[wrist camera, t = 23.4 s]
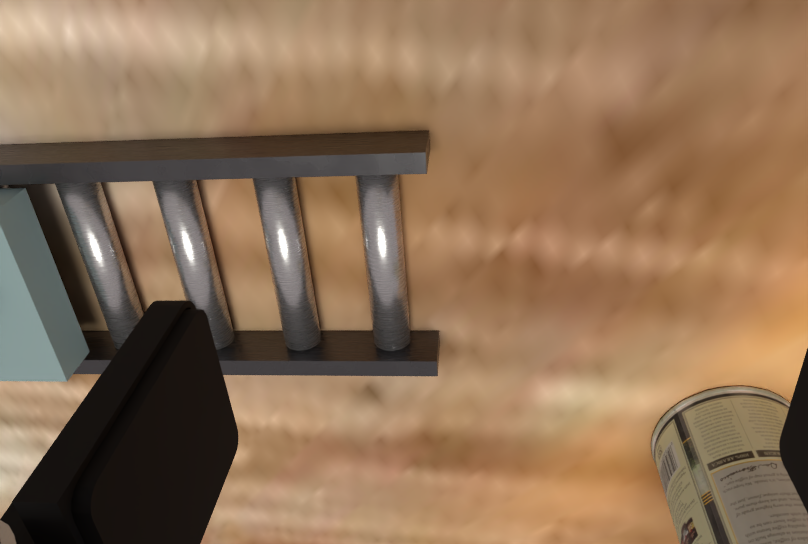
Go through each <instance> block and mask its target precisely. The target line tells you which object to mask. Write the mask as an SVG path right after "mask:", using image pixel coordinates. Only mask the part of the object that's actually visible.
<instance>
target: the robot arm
mask: <svg viewBox="0 0 808 544" xmlns="http://www.w3.org/2000/svg"><path fill="white" fill-rule="evenodd" d="M237 446H238V430H237V425H236V422H235V418H234V414H233V411H232V407H231V403H230V399H229V396H228V392H227V388H226V384H225V381H224V377H223V373H222V370H221V366H220V362H219V358H218V355H217V351H216V347H215V343H214V340H213V336H212V332H211V329H210V325H209V321H208V317H207V315H206V313H205V311H204V310H202V309H196V306H195V305H194V304H193V302H191V301H155V302H153V303H152V304H151V305H150V306H149V308H148V309H147V311H146V312H145V313H144V315H143V316H142V318H141V319H140V320H139V322H138V323H137V325H136V326H135V328H134V329H133V330H132V332H131V333H130V335H129V336H128V338H127V339H126V340H125V342H124V343H123V345H122V346H121V347H120V349H119V350H118V352H117V353H116V355H115V356H114V357H113V359H112V360H111V362H110V363H109V365H108V366H107V367H106V369H105V370H104V372H103V373H102V375H101V376H100V377H99V379H98V380H97V382H96V383H95V384H94V386H93V387H92V389H91V390H90V392H89V393H88V394H87V396H86V397H85V399H84V400H83V402H82V403H81V404H80V406H79V407H78V409H77V410H76V412H75V413H74V414H73V416H72V417H71V419H70V420H69V421H68V423H67V424H66V426H65V427H64V429H63V430H62V431H61V433H60V434H59V436H58V437H57V439H56V440H55V441H54V443H53V444H52V446H51V447H50V449H49V450H48V451H47V453H46V454H45V456H44V457H43V458H42V460H41V461H40V463H39V464H38V466H37V467H36V468H35V470H34V471H33V473H32V474H31V476H30V477H29V478H28V480H27V481H26V483H25V484H24V485H23V487H22V488H21V490H20V491H19V493H18V494H17V495H16V497H15V498H14V500H13V501H12V503H11V505H10V506H9V508H8V509H7V511H6V512H5V513H4V515H3V516H2V518H1V519H0V544H200V543H201V541H202V538H203V535H204V533H205V530H206V528H207V525H208V523H209V520H210V518H211V515H212V513H213V510H214V507H215V505H216V502H217V500H218V497H219V495H220V492H221V490H222V487H223V484H224V482H225V479H226V477H227V474H228V472H229V469H230V467H231V464H232V462H233V459H234V456H235V454H236V451H237ZM779 449H780V456H781V460H782V462H783V465H784V467H785V469H786V471H787V473H788V475H789V477H790V479H791V481H792V483H793V485H794V487H795V489H796V491H797V493H798V495H799V497H800V499H801V501H802V503H803V505H804V507H805V509H806V511H807V513H808V349H807V352H806V355H805V358H804V362H803V365H802V368H801V371H800V375H799V378H798V381H797V384H796V388H795V391H794V394H793V397H792V401H791V404H790V407H789V410H788V414H787V417H786V420H785V423H784V427H783V430H782V433H781V436H780V441H779Z"/></svg>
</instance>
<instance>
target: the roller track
mask: <svg viewBox="0 0 808 544" xmlns="http://www.w3.org/2000/svg"><path fill="white" fill-rule="evenodd" d="M429 154H430V140H429V131H404V132H374V133H344V134H314V135H284V136H254V137H223V138H193V139H163V140H133V141H103V142H73V143H43V144H13V145H0V188H10V187H9V185H16V184H54V183H55V185H56V188H57V190H58V193H59V196H60V199H61V201H62V204H63V207H64V210H65V212H66V215H67V218H68V220H69V223H70V226H71V229H72V231H73V234H74V237H75V240H76V242H77V245H78V248H79V250H80V253H81V256H82V259H83V261H84V264H85V267H86V270H87V272H88V275H89V278H90V281H91V283H92V286H93V289H94V291H95V294H96V297H97V300H98V302H99V305H100V308H101V311H102V313H103V316H104V319H105V321H106V324H107V327H108V330H109V331H82V333H83V336H84V338H85V341H86V343H87V346H88V349H89V351H90V352H89V353H88V355H87V356H86V357H85V359H84V360H83V361H82V362H81V364H80V365H79V366H78V368H77V369H76V370H75V372H74V373H73V374H102V373H103V372H104V370H105V369H106V367H107V366H108V365H109V363H110V362H111V360H112V359H113V357H114V356H115V355H116V353H117V352H118V350H119V349H120V347H121V346H122V345H123V343H124V342H125V340H126V339H127V338H128V336H129V335H130V333H131V332H132V330H133V329H134V328H135V326H136V325H137V323H138V322H139V320H140V319H141V318H142V316H143V315H144V313H143V310H142V307H141V304H140V301H139V298H138V295H137V292H136V289H135V286H134V283H133V280H132V277H131V274H130V271H129V268H128V265H127V262H126V258H125V255H124V252H123V249H122V246H121V243H120V240H119V237H118V234H117V231H116V228H115V225H114V222H113V219H112V216H111V213H110V210H109V207H108V204H107V200H106V197H105V194H104V191H103V188H102V185H101V182H130V181H152V182H153V185H154V189H155V192H156V196H157V199H158V203H159V206H160V210H161V214H162V217H163V221H164V224H165V228H166V231H167V235H168V238H169V242H170V245H171V249H172V252H173V256H174V259H175V263H176V266H177V270H178V273H179V277H180V280H181V284H182V287H183V291H184V295H185V298H186V301H191V302H193V304H194V305H195V306H196V309H202V310H204V311H205V313H206V315H207V317H208V321H209V325H210V329H211V332H212V336H213V340H214V343H215V347H216V351H217V355H218V358H219V362H220V366H221V370H222V373H223V375H331V376H438V363H439V348H440V340H439V331H410V323H409V310H408V297H407V284H406V271H405V259H404V246H403V233H402V220H401V207H400V194H399V181H398V174H427V168H428V161H429ZM320 176H356V184H357V193H358V201H359V210H360V219H361V228H362V237H363V246H364V254H365V263H366V272H367V281H368V290H369V299H370V307H371V316H372V325H373V331H320V326H319V320H318V314H317V308H316V302H315V296H314V290H313V284H312V278H311V271H310V265H309V259H308V253H307V247H306V241H305V235H304V229H303V223H302V216H301V210H300V204H299V198H298V192H297V186H296V180H295V177H320ZM244 178H252V179H253V184H254V189H255V194H256V199H257V204H258V209H259V214H260V219H261V224H262V229H263V234H264V239H265V244H266V249H267V254H268V259H269V264H270V269H271V274H272V279H273V284H274V289H275V294H276V299H277V304H278V309H279V314H280V319H281V324H282V329H283V331H233V327H232V323H231V319H230V315H229V311H228V307H227V303H226V299H225V295H224V291H223V287H222V283H221V279H220V275H219V271H218V267H217V263H216V259H215V255H214V251H213V247H212V242H211V238H210V234H209V230H208V226H207V222H206V218H205V214H204V210H203V206H202V202H201V198H200V194H199V190H198V186H197V182H196V180H206V179H244Z"/></svg>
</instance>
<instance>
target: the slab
mask: <svg viewBox="0 0 808 544" xmlns="http://www.w3.org/2000/svg"><path fill="white" fill-rule="evenodd" d="M89 352H90V351H89V349H88V346H87V343H86V341H85V338H84V336H83V333H82V331H81V328H80V326H79V323H78V321H77V318H76V315H75V313H74V310H73V308H72V305H71V303H70V300H69V298H68V295H67V293H66V290H65V287H64V285H63V282H62V280H61V277H60V275H59V272H58V270H57V267H56V265H55V262H54V259H53V257H52V254H51V252H50V249H49V247H48V244H47V242H46V239H45V236H44V234H43V231H42V229H41V226H40V224H39V221H38V219H37V216H36V214H35V211H34V208H33V206H32V203H31V201H30V198H29V196H28V193H27V191H26V188H0V381H68V380H69V378H70V377H71V376H72V374H73V373H74V372H75V370H76V369H77V368H78V366H79V365H80V364H81V362H82V361H83V360H84V359H85V357H86V356H87V355H88V353H89Z"/></svg>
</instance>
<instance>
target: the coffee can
mask: <svg viewBox="0 0 808 544" xmlns="http://www.w3.org/2000/svg"><path fill="white" fill-rule="evenodd" d="M789 407H790V403H789V402H788V401H787V400H785V399H784V398H782V397H781V396H779V395H777V394H775V393H773V392H771V391H768V390H764V389H758V388H755V387H747V386H730V387H722V388H716V389H711V390H707V391H704V392H702V393H699V394H696V395H694V396H691V397H689V398H687V399H685V400H683V401H681V402H680V403H678V404H677V405H676V406H674V407H673V408H672V409H670V410H669V411H668V412H667V413H666V414H665V415H664V416H663V417H662V418H661V419H660V421H659V423H658V425H657V427H656V429H655V430H654V433H653V436H652V442H651V451H652V456H653V459H654V461H655V463H656V466H657V469H658V472H659V475H660V478H661V482H662V485H663V489H664V492H665V495H666V499H667V502H668V506H669V509H670V513H671V516H672V519H673V522H674V526H675V529H676V532H677V536H678V539H679V542H680V544H808V513H807V511H806V509H805V507H804V505H803V503H802V501H801V499H800V497H799V495H798V493H797V491H796V489H795V487H794V485H793V483H792V481H791V479H790V477H789V475H788V473H787V471H786V469H785V467H784V465H783V462H782V460H781V456H780V449H779V441H780V436H781V433H782V430H783V427H784V423H785V420H786V417H787V414H788V410H789Z"/></svg>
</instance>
